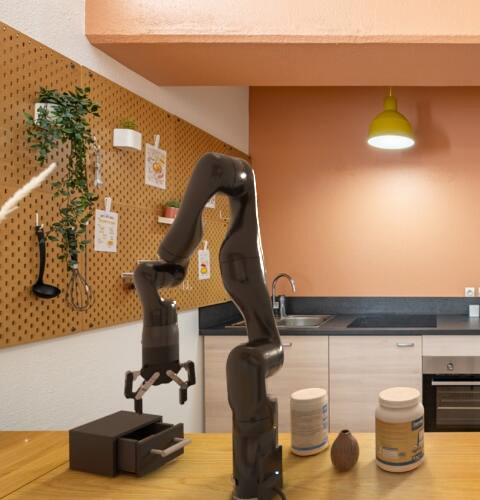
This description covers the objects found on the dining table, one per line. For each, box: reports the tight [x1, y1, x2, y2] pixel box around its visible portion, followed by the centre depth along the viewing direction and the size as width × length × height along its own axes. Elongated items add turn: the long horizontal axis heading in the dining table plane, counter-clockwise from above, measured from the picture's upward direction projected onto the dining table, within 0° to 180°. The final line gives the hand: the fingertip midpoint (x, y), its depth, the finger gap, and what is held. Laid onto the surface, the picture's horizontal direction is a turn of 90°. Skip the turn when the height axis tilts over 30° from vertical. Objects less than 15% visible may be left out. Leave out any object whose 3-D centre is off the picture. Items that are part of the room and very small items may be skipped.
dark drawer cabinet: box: [68, 409, 164, 478], centre depth 103 cm, size 15×13×10 cm
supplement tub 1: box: [289, 387, 329, 457], centre depth 108 cm, size 10×10×15 cm
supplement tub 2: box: [374, 386, 425, 473], centre depth 101 cm, size 12×12×17 cm
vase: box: [329, 428, 360, 472], centre depth 99 cm, size 7×7×9 cm
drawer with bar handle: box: [116, 422, 192, 478], centre depth 100 cm, size 18×11×8 cm, turn 74°
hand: (161, 408), depth 99 cm, fingers open, 8 cm apart
